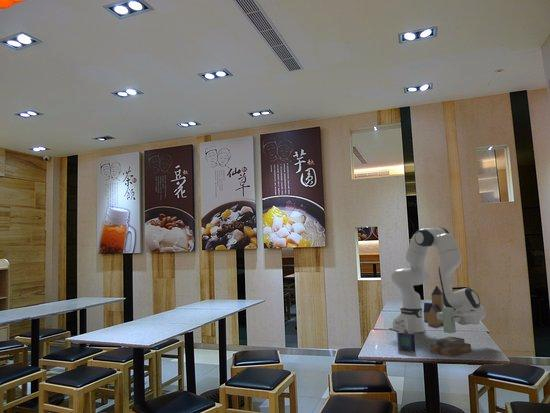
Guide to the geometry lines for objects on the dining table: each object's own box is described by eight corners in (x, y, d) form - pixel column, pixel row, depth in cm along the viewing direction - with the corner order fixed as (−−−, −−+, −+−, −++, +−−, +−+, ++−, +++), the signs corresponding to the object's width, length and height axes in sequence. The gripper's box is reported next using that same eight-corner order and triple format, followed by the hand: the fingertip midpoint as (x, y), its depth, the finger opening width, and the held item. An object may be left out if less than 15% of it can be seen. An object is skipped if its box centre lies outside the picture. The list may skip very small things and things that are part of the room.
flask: (397, 349, 212) (395, 328, 213) (399, 348, 214) (398, 327, 215) (414, 352, 206) (412, 330, 207) (416, 351, 208) (415, 329, 209)
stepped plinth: (430, 352, 205) (430, 339, 206) (449, 346, 214) (448, 334, 215) (452, 356, 195) (451, 343, 196) (471, 351, 204) (470, 338, 205)
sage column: (443, 332, 206) (441, 308, 207) (448, 331, 208) (446, 307, 209) (451, 333, 203) (449, 308, 204) (455, 332, 205) (453, 307, 206)
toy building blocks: (445, 321, 283) (442, 284, 286) (438, 326, 268) (435, 287, 271) (426, 319, 291) (424, 284, 293) (418, 324, 275) (416, 287, 278)
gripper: (445, 307, 222) (429, 310, 215) (481, 311, 205) (465, 315, 198) (446, 319, 222) (430, 323, 214) (482, 324, 205) (467, 328, 197)
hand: (447, 319), depth 206 cm, fingers closed on sage column, 4 cm apart
